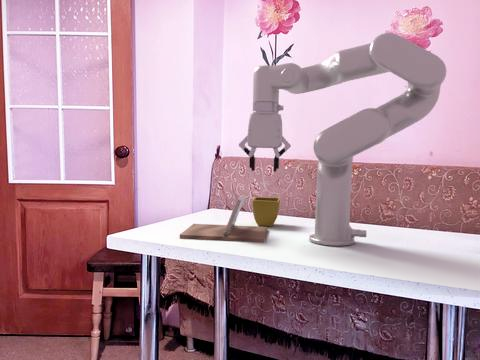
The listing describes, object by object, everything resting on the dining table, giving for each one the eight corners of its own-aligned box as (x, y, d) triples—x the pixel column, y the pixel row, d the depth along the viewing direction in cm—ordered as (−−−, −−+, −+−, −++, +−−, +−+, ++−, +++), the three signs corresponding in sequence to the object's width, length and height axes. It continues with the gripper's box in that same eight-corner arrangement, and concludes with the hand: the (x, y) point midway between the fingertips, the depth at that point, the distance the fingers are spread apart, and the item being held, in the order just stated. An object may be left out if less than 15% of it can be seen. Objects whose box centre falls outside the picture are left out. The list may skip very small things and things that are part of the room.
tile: (245, 195, 137) (242, 194, 137) (241, 200, 125) (237, 198, 125) (234, 225, 138) (230, 223, 138) (228, 232, 126) (224, 230, 126)
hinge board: (267, 230, 140) (267, 223, 139) (263, 242, 122) (263, 234, 122) (193, 226, 142) (193, 220, 142) (179, 238, 125) (179, 230, 124)
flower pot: (277, 228, 144) (278, 200, 143) (251, 226, 145) (252, 199, 144) (279, 223, 152) (280, 197, 152) (254, 222, 154) (255, 196, 153)
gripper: (295, 110, 131) (293, 171, 132) (237, 110, 133) (236, 169, 134) (295, 108, 123) (293, 172, 125) (234, 108, 125) (233, 170, 127)
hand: (264, 170), depth 129 cm, fingers open, 5 cm apart
